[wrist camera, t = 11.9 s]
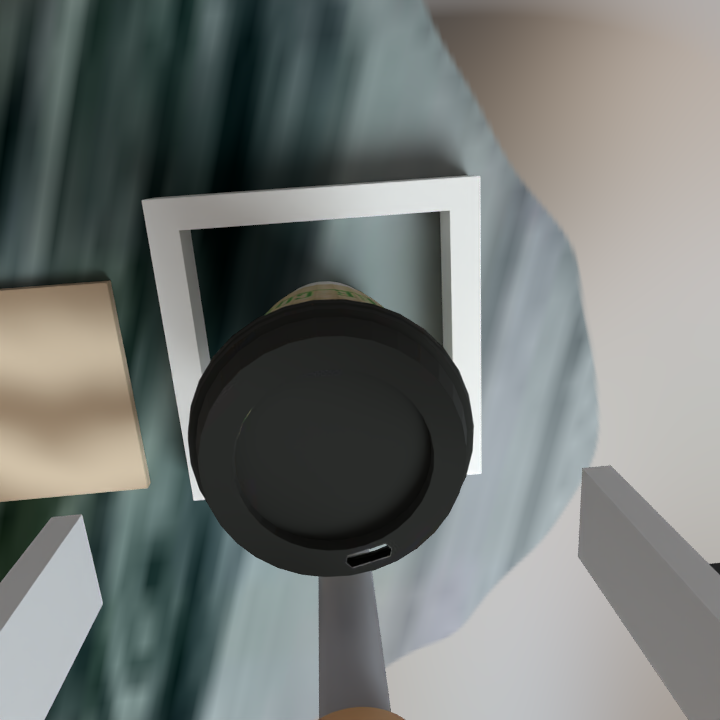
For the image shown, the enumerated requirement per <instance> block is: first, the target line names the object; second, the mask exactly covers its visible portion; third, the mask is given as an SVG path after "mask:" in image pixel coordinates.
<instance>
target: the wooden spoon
mask: <svg viewBox="0 0 720 720" xmlns="http://www.w3.org/2000/svg"><path fill="white" fill-rule="evenodd" d="M319 720H404V719H403V718H402V717H400V716H398V715H397V714H394V713H392V712H390V711H387V710H383V709H379V708H373V707H353V708H347V709H342V710H338V711H335V712H332V713H330V714H328V715H326V716H324V717H322V718H320V719H319Z"/></svg>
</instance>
